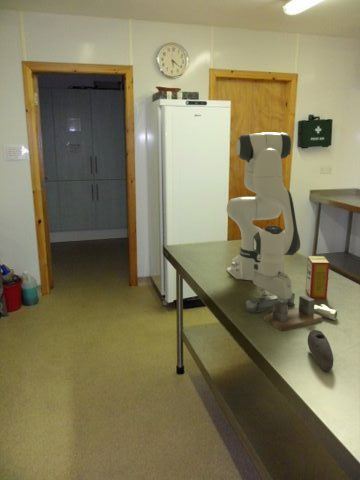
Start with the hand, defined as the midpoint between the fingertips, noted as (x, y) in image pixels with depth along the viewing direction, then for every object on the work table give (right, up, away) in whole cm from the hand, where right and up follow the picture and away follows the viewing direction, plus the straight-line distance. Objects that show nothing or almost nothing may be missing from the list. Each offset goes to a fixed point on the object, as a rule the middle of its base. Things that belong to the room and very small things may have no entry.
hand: (270, 302), depth 146 cm
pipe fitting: (+19, -4, -7) cm, 21 cm away
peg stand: (+5, -5, -11) cm, 13 cm away
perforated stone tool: (+5, -11, -37) cm, 39 cm away
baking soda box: (+22, +1, +12) cm, 25 cm away
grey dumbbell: (0, -2, +1) cm, 2 cm away
